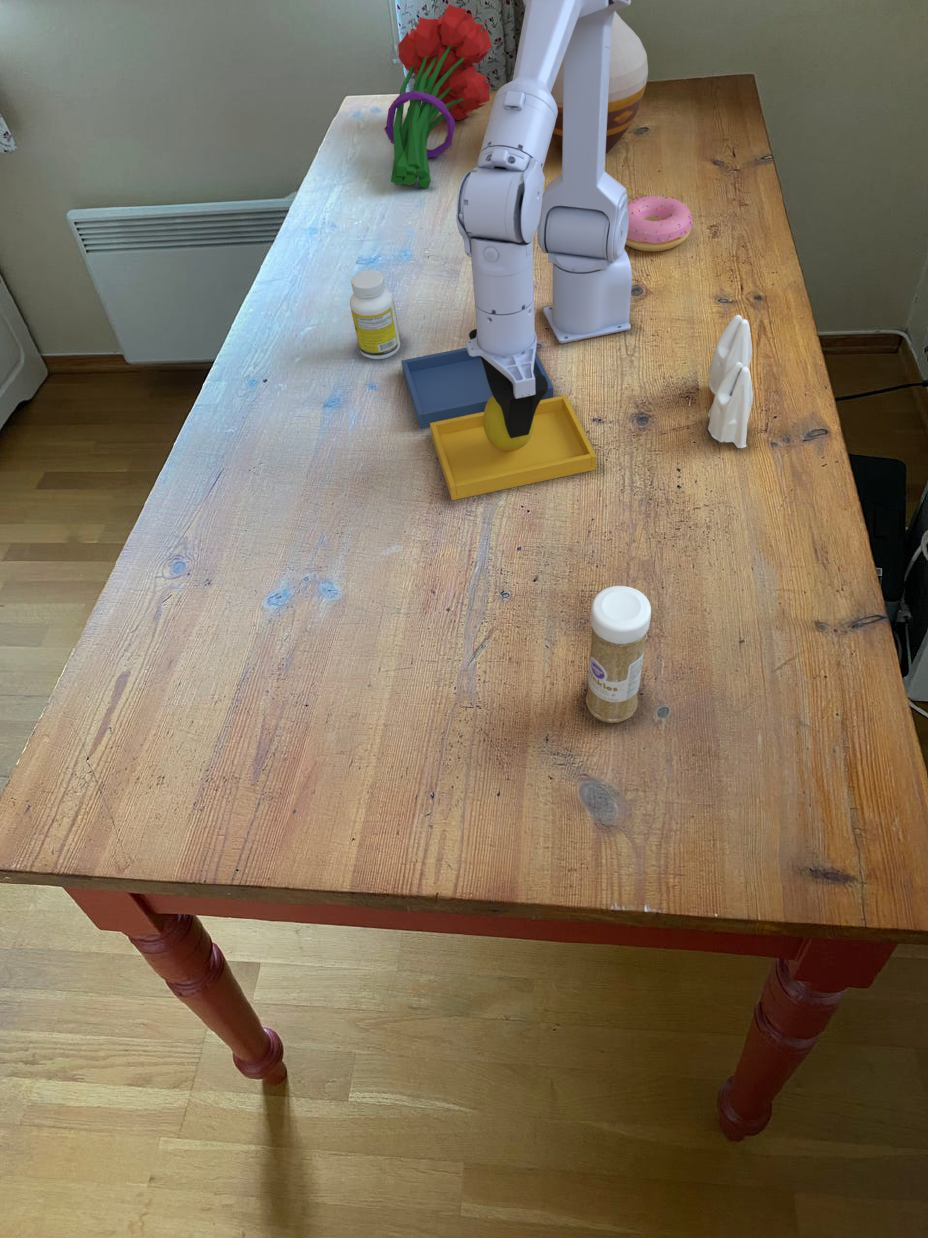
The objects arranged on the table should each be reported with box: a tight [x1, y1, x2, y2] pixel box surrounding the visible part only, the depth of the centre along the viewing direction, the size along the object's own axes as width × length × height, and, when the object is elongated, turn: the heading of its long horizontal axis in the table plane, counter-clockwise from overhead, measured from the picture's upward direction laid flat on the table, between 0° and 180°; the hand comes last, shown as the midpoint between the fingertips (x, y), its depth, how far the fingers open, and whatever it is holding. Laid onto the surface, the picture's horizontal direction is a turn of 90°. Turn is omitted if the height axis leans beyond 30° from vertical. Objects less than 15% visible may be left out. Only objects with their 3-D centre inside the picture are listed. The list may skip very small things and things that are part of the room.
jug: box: [551, 11, 649, 155], centre depth 134 cm, size 20×18×30 cm
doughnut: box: [625, 194, 694, 252], centre depth 125 cm, size 11×11×4 cm
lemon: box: [483, 396, 534, 451], centre depth 97 cm, size 6×6×8 cm
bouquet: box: [384, 3, 493, 189], centre depth 144 cm, size 20×16×30 cm
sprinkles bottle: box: [585, 585, 652, 724], centre depth 73 cm, size 5×5×13 cm
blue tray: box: [400, 347, 554, 429], centre depth 107 cm, size 16×11×2 cm
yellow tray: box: [429, 394, 597, 501], centre depth 99 cm, size 16×11×2 cm
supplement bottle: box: [349, 269, 401, 360], centre depth 111 cm, size 5×5×10 cm
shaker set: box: [707, 314, 754, 449], centre depth 97 cm, size 12×4×11 cm, turn 171°
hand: (509, 412), depth 96 cm, fingers open, 7 cm apart
